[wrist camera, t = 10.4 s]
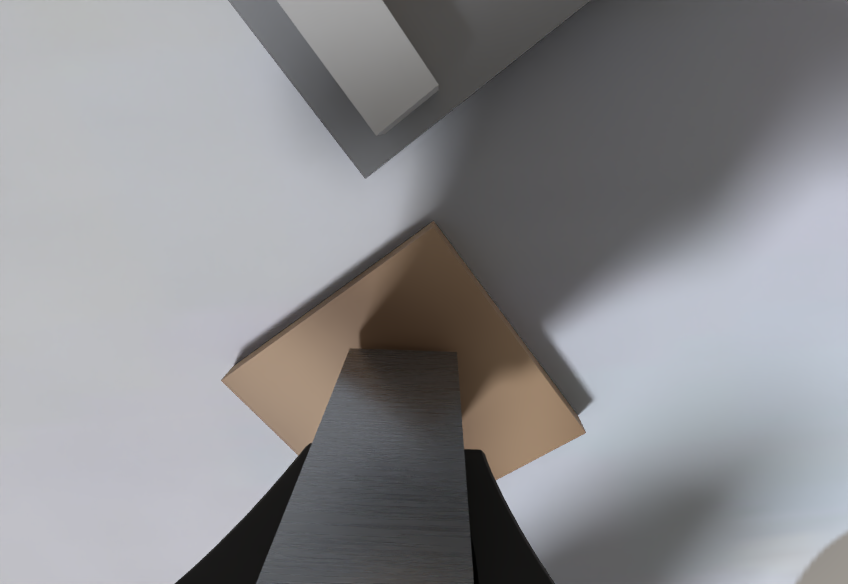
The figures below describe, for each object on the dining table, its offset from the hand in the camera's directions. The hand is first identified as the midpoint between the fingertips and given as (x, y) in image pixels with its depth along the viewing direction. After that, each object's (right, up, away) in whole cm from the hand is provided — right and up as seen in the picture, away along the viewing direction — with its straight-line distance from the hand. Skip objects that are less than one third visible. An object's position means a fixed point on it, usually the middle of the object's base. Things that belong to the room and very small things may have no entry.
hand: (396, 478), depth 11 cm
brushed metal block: (0, +2, +2) cm, 3 cm away
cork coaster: (0, +1, +3) cm, 4 cm away
